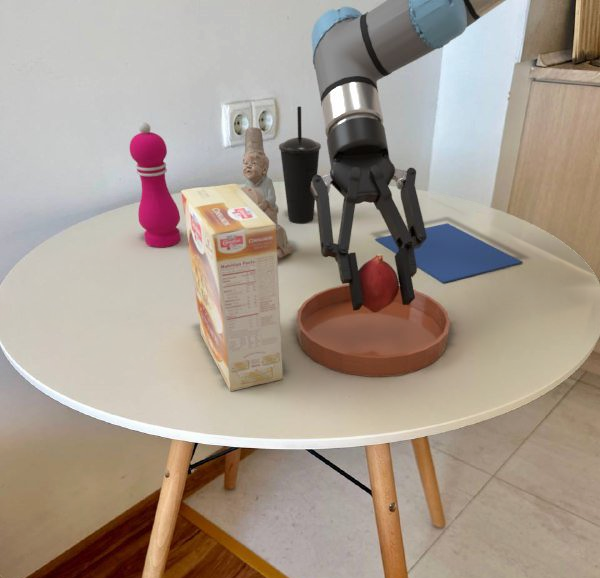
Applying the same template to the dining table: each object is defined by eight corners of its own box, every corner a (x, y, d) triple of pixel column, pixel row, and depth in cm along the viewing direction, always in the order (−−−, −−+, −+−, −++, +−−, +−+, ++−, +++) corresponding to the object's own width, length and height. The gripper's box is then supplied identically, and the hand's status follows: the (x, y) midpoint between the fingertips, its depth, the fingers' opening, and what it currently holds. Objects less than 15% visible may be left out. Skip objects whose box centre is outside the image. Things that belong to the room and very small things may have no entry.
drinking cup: (302, 209, 120) (300, 100, 108) (328, 219, 115) (330, 106, 103) (273, 219, 116) (268, 107, 104) (299, 229, 111) (297, 113, 99)
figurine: (258, 242, 106) (251, 122, 94) (300, 250, 103) (297, 127, 91) (231, 260, 100) (219, 134, 88) (274, 270, 97) (268, 140, 85)
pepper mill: (157, 231, 111) (138, 116, 99) (190, 236, 109) (175, 119, 97) (135, 245, 106) (111, 125, 94) (169, 251, 104) (149, 129, 92)
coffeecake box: (199, 333, 81) (178, 189, 69) (248, 323, 83) (237, 181, 71) (228, 393, 70) (210, 233, 58) (285, 380, 72) (278, 222, 60)
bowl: (478, 351, 76) (482, 332, 74) (343, 393, 69) (344, 373, 68) (392, 289, 91) (394, 272, 89) (273, 319, 84) (273, 301, 82)
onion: (346, 318, 76) (348, 259, 72) (359, 298, 81) (361, 242, 76) (390, 325, 75) (394, 266, 70) (401, 305, 79) (406, 248, 74)
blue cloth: (522, 263, 97) (522, 261, 97) (443, 283, 92) (443, 281, 92) (447, 224, 112) (447, 223, 112) (375, 240, 106) (375, 238, 106)
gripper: (415, 143, 81) (445, 305, 78) (280, 153, 79) (305, 321, 76) (433, 109, 74) (467, 286, 71) (285, 118, 71) (313, 302, 68)
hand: (383, 303), depth 73 cm, fingers closed on onion, 6 cm apart
